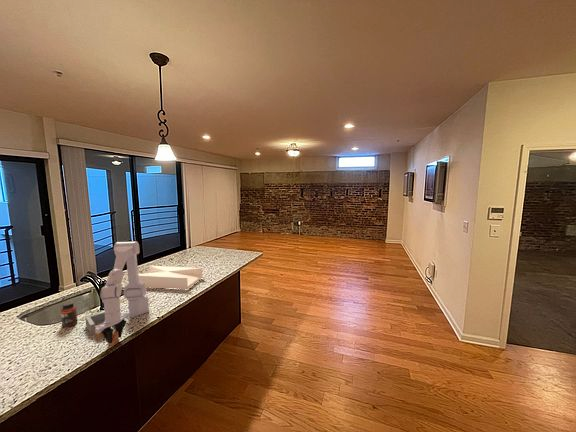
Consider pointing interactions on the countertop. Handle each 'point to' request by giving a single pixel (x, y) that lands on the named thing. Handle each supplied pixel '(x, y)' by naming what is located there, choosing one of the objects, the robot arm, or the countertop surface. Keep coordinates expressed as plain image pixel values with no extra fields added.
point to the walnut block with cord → (114, 337)
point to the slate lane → (94, 321)
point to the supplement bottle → (68, 314)
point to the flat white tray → (171, 277)
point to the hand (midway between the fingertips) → (114, 339)
